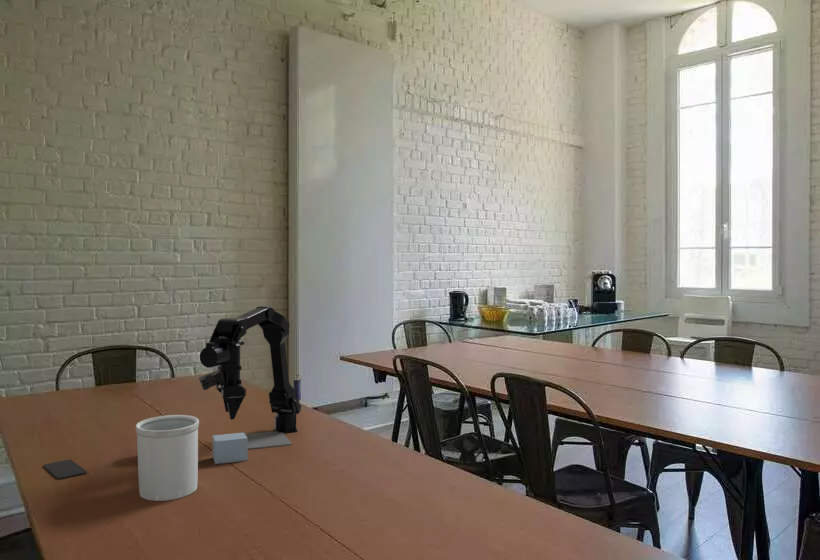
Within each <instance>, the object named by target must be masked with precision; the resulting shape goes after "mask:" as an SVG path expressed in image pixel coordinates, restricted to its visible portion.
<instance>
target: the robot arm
mask: <svg viewBox="0 0 820 560" xmlns="http://www.w3.org/2000/svg"><path fill="white" fill-rule="evenodd" d="M257 325H258V326H259V328H261V330H262V334H263V338H264V339H265V340H266V342H267V343H268V344H269V349H270V350H269V352H270V360H271V361H270V362H271V370H272V379H273V387H272V389H271V391H270V392H269V393H268V396H269V397H268V398H269V404H270V409H271V413H273V414H275V416H274V430H275V431H278V432H279V433H280V432H283V434H285V433H294V432H298V428H297V415H299V414H300V413H301V410H302V405H301V403H300V401H298V400H297V398H296V395H295V390H294V386H292V385H291V384H290V380H289V379H290V378H289V370H288V362H287V350H286V341H287V338H288V337H289V335H290V322H289V320H288V319H287V318H286V317H285V316H284V315H282V314H280V313H279V312H278V311H276V310H274V308H273V307H271V306H265V305H264V306H263V305H261V306H260V305H259V306H256V307H255V309H251V310H249V311H248V312H247V311H246V312H245V313H243V314H241V315H238V316H235V317H233V316H232V317H225V318H221V319H219V320H217V323H216V325H215V327H214V329H213V331H212V334H211V336H210V339H209V340H208V342H205V347H204V348H203V349H202V350H201V351H200V354H199V360H200V363H201V364H202V366H203V367H205V368H214V367H217V370H215V371H212V372H209V373H207V374H204V375H202V376H200V377H198V381H199V383H200V385H201V388H202V390H203V391H207V390H209V389H210V388H212V387H215V388H216V390H217V391H218V393H220V394H221V399H222V402H223V405H224V410H225V412H226V413H228V414H229V420H235V419H236V416H237V414H238V411H239V409H240V407H241V405H242V403H243V400H244V399H245V397H246V396H247V389H246V387H245V386H243V385H242V379H241V371H242V366H241V346H244V345H245V342H244V341H243V340H242V339H241V338H242V337H243V338H244V337H245V336H246V335H247V331H248V330H250V329H251V328H253V327H255V326H257Z"/></svg>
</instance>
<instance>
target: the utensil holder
mask: <svg viewBox="0 0 820 560" xmlns="http://www.w3.org/2000/svg"><path fill="white" fill-rule="evenodd" d="M199 426H200V420H199V418H198V417H196V416H193V415H187V414H169V415H168V414H167V415H159V416H154V417H153V416H152V417H149V418H146V419H142V420H141V421H139V422H137V424H135V432H136V443H137V445H136V446H137V447H136V448H137V472H138V473H137V475H138V489H139V491H138V492H139V496H140V498H142V499H144V500H148V501H153V502H155V501H156V502H161V501H162V502H166V501H171V500H172V501H173V500H177V499H182V498H185V497H187V496H190V495H191V494H193V493H194V492H196V490H197V489H198V481H199V480H198V473H199V470H198V469H199V467H198V466H199Z"/></svg>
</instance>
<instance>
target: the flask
mask: <svg viewBox="0 0 820 560" xmlns="http://www.w3.org/2000/svg"><path fill="white" fill-rule="evenodd" d="M301 383H302V377H301V376H300V373H295V375H294V376H293V389H294V390H295V395H296V398H297V400H298V401H299V402H300V401H301V400H302V396H301V395H302V392H301V391H302V388H301V386H302V384H301Z"/></svg>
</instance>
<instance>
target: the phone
mask: <svg viewBox="0 0 820 560" xmlns="http://www.w3.org/2000/svg"><path fill="white" fill-rule="evenodd" d="M43 468H44V469H45V470H46V471H47V472H48V473H49V474H51V476H53V477H54V478H55V479H56V480H59V481H60V480H61V481H62V480H66V479H71V478H75V477H80V476H85V475H87V474H88V471H87V470H86V469H85V468H83V467H82V466H80V465H79V464H77V462H75V461H74V460H72V459H65V460H59V461H55V462H50V463H45V464H43Z"/></svg>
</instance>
